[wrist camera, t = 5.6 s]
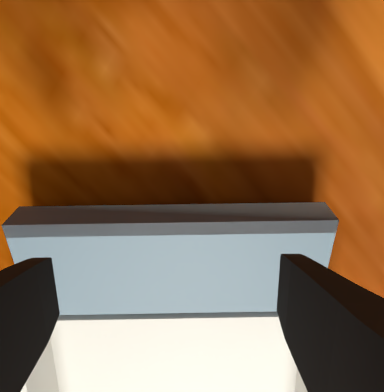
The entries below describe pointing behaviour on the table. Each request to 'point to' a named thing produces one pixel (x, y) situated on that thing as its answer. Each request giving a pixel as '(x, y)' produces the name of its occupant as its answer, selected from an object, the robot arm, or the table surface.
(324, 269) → the robot arm
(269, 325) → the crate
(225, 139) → the table surface
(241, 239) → the panel
